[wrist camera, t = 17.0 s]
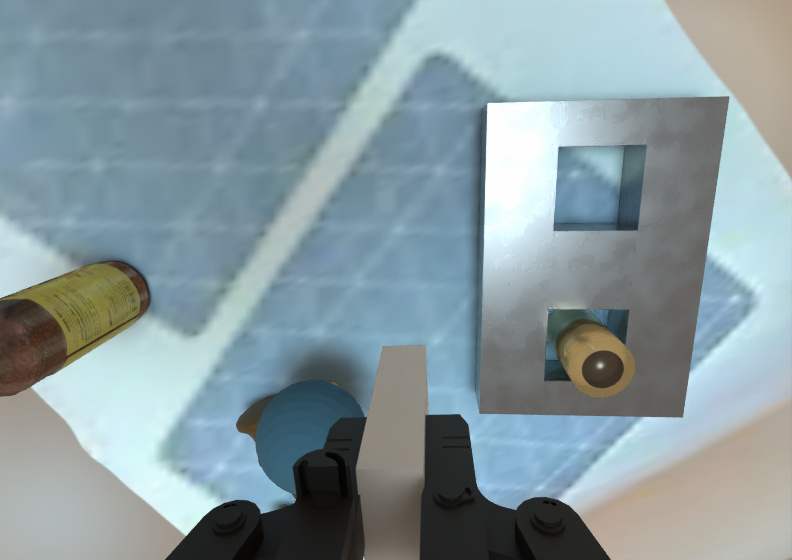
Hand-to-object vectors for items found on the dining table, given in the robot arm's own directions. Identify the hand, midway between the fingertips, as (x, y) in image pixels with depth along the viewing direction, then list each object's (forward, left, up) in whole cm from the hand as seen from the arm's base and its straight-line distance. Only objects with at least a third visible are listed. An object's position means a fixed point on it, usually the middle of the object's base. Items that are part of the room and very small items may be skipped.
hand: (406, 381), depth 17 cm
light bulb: (+13, -8, -25) cm, 29 cm away
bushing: (+7, +13, -24) cm, 28 cm away
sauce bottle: (+4, -27, -25) cm, 37 cm away
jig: (+1, +13, -24) cm, 27 cm away
